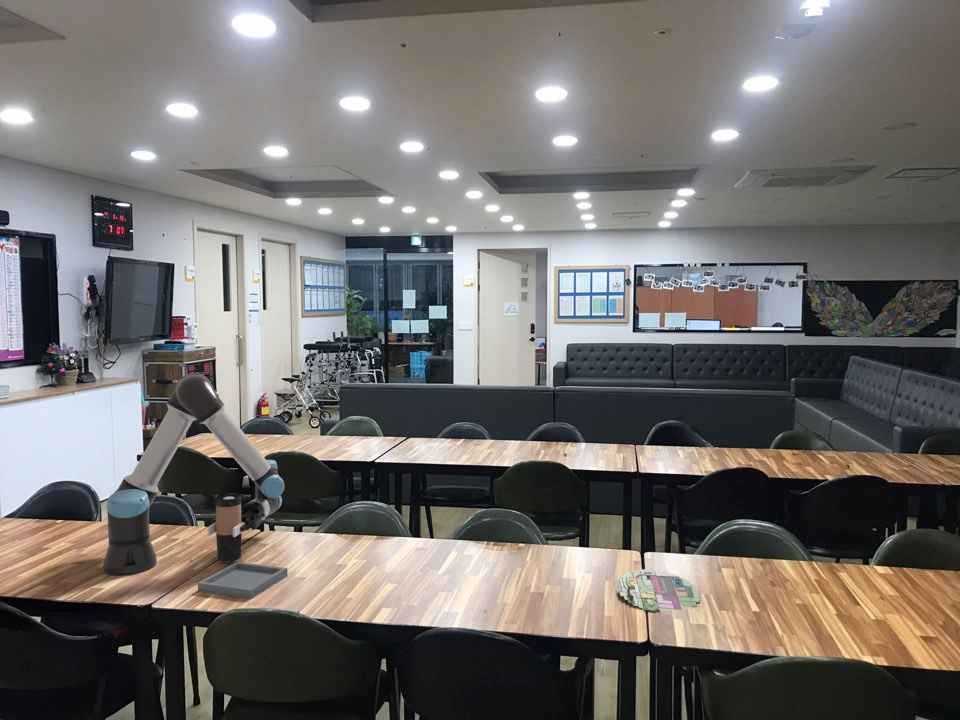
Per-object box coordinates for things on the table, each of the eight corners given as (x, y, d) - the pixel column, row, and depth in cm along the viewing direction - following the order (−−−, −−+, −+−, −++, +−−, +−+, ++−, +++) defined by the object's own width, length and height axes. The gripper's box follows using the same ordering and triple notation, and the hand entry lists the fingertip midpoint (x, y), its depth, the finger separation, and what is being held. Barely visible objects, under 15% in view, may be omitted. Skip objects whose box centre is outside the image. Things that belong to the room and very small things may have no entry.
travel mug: (236, 562, 221) (235, 499, 220) (212, 562, 222) (211, 499, 220) (245, 554, 229) (244, 493, 228) (222, 553, 229) (221, 493, 228)
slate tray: (197, 591, 203) (197, 582, 202) (237, 569, 220) (237, 561, 220) (251, 599, 197) (251, 590, 197) (287, 576, 214) (287, 567, 214)
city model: (636, 627, 184) (638, 605, 183) (597, 583, 206) (598, 564, 205) (718, 616, 191) (721, 595, 190) (672, 575, 213) (674, 557, 212)
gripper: (282, 523, 241) (252, 545, 219) (226, 521, 244) (190, 542, 221) (282, 502, 241) (252, 521, 218) (226, 499, 244) (190, 518, 221)
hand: (221, 531), depth 220 cm, fingers closed on travel mug, 8 cm apart
